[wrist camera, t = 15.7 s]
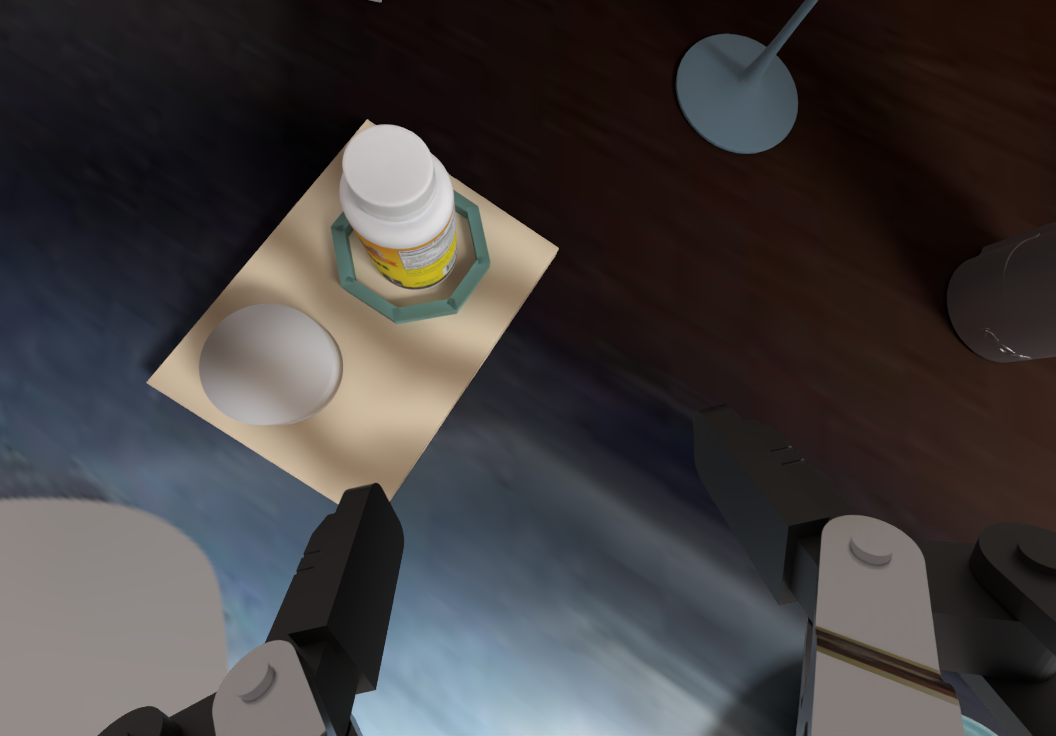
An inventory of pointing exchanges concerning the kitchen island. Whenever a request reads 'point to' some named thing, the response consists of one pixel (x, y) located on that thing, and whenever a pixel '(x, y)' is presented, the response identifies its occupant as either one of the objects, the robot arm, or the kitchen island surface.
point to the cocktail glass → (739, 89)
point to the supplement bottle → (400, 206)
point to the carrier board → (350, 341)
